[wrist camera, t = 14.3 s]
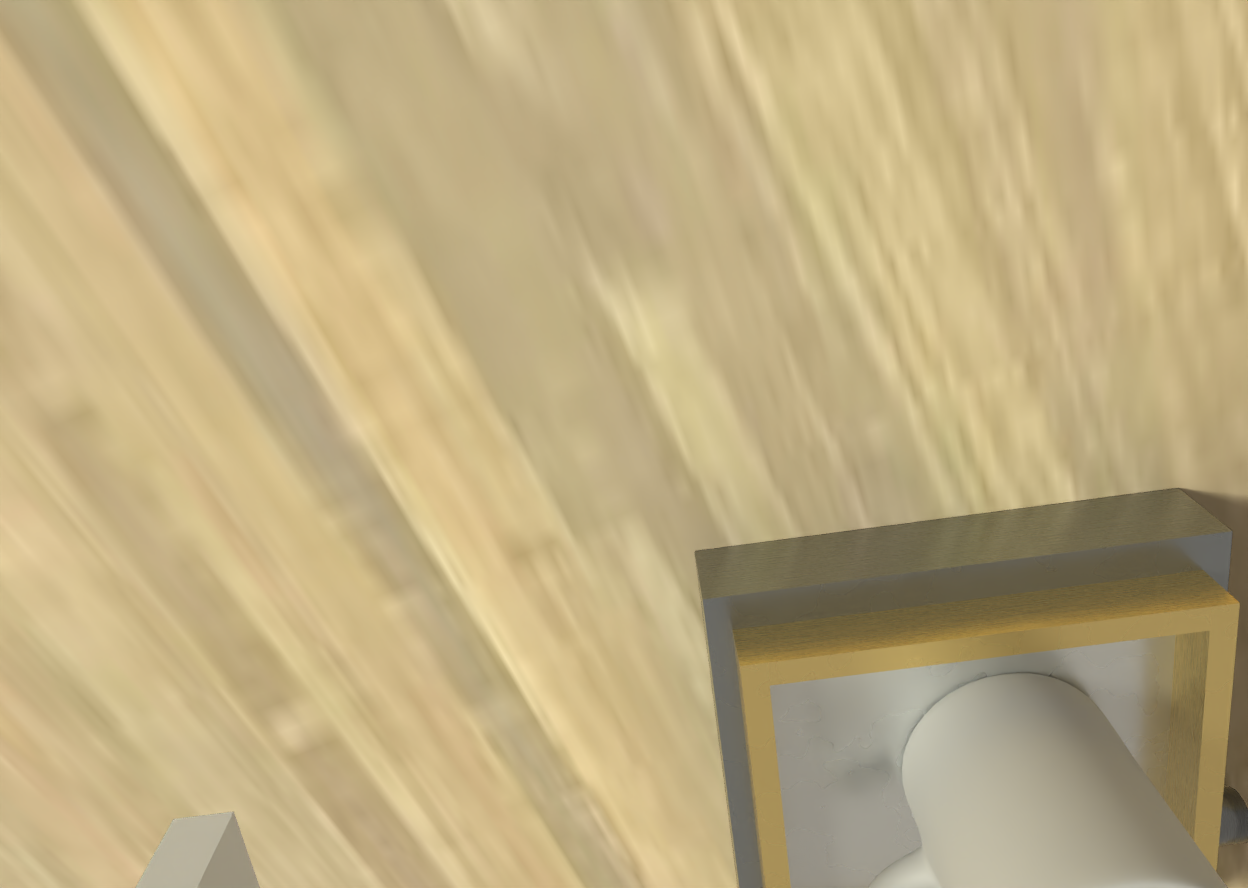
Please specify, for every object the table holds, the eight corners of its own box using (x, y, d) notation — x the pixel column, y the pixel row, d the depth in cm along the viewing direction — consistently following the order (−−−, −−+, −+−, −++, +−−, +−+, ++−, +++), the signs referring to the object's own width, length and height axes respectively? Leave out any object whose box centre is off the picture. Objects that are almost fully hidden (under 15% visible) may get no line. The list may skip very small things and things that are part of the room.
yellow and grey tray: (741, 914, 51) (759, 1032, 45) (694, 551, 44) (708, 634, 38) (1212, 858, 50) (1295, 972, 44) (1245, 479, 43) (1349, 552, 37)
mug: (1053, 632, 41) (1203, 835, 30) (1143, 779, 43) (1309, 1012, 33) (787, 776, 43) (843, 1009, 33) (888, 908, 45) (969, 1161, 35)
